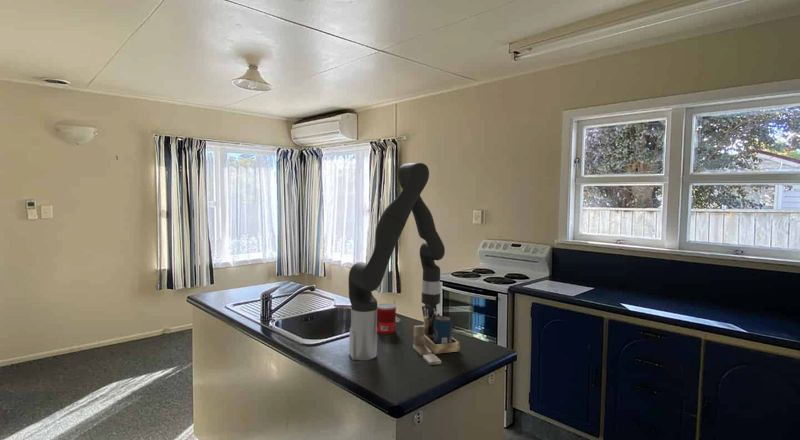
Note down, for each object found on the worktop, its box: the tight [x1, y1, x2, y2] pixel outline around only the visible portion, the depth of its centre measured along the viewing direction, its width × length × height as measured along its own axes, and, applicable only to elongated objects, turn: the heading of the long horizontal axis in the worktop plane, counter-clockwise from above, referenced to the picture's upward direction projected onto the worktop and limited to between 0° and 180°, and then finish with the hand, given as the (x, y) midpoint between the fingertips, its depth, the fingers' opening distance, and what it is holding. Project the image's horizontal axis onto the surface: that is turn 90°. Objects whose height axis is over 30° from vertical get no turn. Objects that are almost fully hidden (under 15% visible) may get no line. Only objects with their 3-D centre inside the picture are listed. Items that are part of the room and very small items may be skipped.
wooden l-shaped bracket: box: [412, 324, 442, 366], centre depth 151 cm, size 4×17×8 cm, turn 18°
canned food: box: [377, 302, 397, 335], centre depth 175 cm, size 8×8×11 cm
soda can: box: [432, 315, 453, 344], centre depth 156 cm, size 7×7×12 cm
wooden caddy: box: [422, 317, 461, 355], centre depth 161 cm, size 10×17×8 cm, turn 18°
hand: (429, 333), depth 168 cm, fingers closed
